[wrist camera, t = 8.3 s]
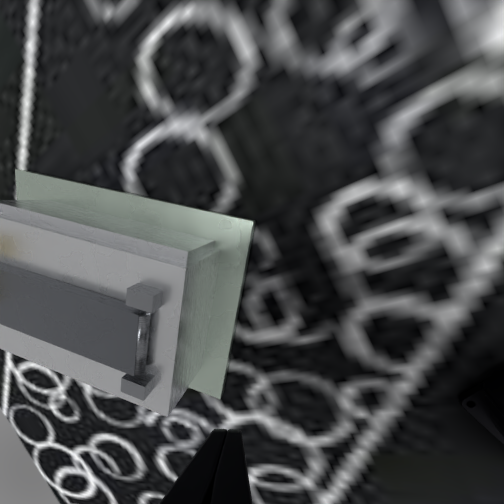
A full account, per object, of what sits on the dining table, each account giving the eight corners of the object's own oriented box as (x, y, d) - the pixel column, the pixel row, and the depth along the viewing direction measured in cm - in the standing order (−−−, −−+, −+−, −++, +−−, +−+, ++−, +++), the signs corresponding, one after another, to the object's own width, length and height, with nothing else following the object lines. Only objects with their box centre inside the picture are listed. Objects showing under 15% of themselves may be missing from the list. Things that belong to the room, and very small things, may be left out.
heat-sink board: (256, 220, 18) (199, 241, 9) (223, 392, 21) (162, 520, 13) (25, 170, 22) (-162, 152, 13) (32, 321, 26) (-110, 383, 17)
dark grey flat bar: (153, 311, 14) (144, 317, 14) (148, 369, 15) (139, 378, 15) (-27, 252, 17) (-43, 255, 16) (-21, 305, 18) (-36, 310, 17)
